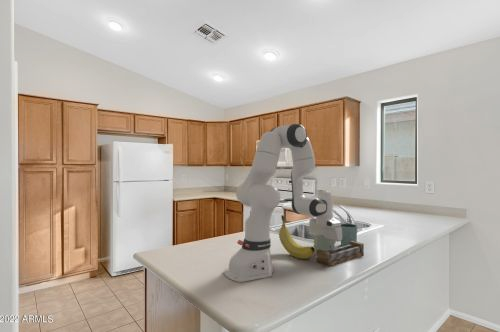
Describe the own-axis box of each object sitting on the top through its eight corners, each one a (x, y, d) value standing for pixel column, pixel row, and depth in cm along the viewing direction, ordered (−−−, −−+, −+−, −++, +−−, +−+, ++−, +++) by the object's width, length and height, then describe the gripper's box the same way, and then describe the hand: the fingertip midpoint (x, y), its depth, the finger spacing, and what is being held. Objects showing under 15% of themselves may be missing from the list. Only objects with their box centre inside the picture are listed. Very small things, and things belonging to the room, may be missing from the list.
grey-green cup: (354, 249, 151) (354, 227, 151) (336, 246, 157) (336, 225, 157) (359, 245, 159) (359, 224, 159) (342, 242, 165) (342, 222, 165)
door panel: (317, 256, 140) (316, 237, 140) (314, 255, 141) (314, 236, 141) (334, 251, 148) (334, 233, 148) (331, 250, 149) (331, 232, 149)
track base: (328, 266, 125) (328, 253, 125) (316, 262, 131) (316, 250, 131) (363, 255, 141) (363, 243, 141) (351, 251, 147) (351, 240, 147)
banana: (317, 261, 133) (317, 220, 133) (310, 263, 129) (309, 222, 129) (284, 250, 150) (284, 214, 150) (276, 252, 147) (276, 215, 147)
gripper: (305, 218, 151) (306, 242, 151) (336, 224, 135) (336, 252, 135) (313, 216, 155) (313, 240, 155) (344, 222, 138) (344, 249, 138)
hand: (324, 246), depth 145 cm, fingers open, 8 cm apart
